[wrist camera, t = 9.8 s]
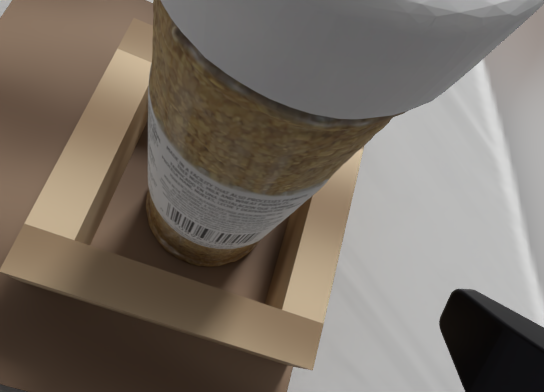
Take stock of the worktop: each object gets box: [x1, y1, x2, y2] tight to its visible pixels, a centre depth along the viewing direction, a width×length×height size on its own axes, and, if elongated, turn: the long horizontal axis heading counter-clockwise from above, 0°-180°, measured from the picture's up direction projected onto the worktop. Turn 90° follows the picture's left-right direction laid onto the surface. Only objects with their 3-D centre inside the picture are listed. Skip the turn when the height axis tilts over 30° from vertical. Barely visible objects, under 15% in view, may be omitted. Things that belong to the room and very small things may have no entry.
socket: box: [0, 0, 364, 392], centre depth 15 cm, size 15×14×4 cm
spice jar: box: [146, 0, 544, 267], centre depth 10 cm, size 5×5×13 cm
